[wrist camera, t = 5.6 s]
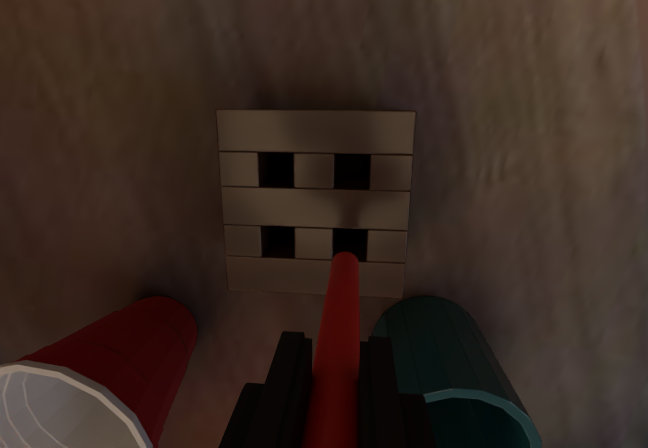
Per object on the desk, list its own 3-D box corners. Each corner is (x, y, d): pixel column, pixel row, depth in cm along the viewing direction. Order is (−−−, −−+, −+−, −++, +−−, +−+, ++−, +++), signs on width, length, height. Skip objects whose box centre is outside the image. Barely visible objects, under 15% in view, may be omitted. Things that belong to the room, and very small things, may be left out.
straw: (331, 250, 18) (254, 652, 4) (359, 251, 18) (367, 665, 4) (331, 276, 18) (257, 720, 5) (358, 277, 18) (363, 734, 5)
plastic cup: (91, 360, 32) (-56, 495, 21) (110, 249, 29) (-51, 334, 18) (211, 401, 32) (130, 558, 21) (243, 294, 29) (168, 409, 18)
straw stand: (247, 110, 25) (215, 108, 20) (403, 112, 25) (417, 110, 19) (253, 255, 28) (226, 290, 22) (393, 261, 27) (402, 299, 22)
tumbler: (372, 293, 28) (379, 383, 19) (488, 298, 28) (557, 395, 18) (367, 386, 30) (372, 509, 21) (474, 393, 30) (529, 524, 20)
